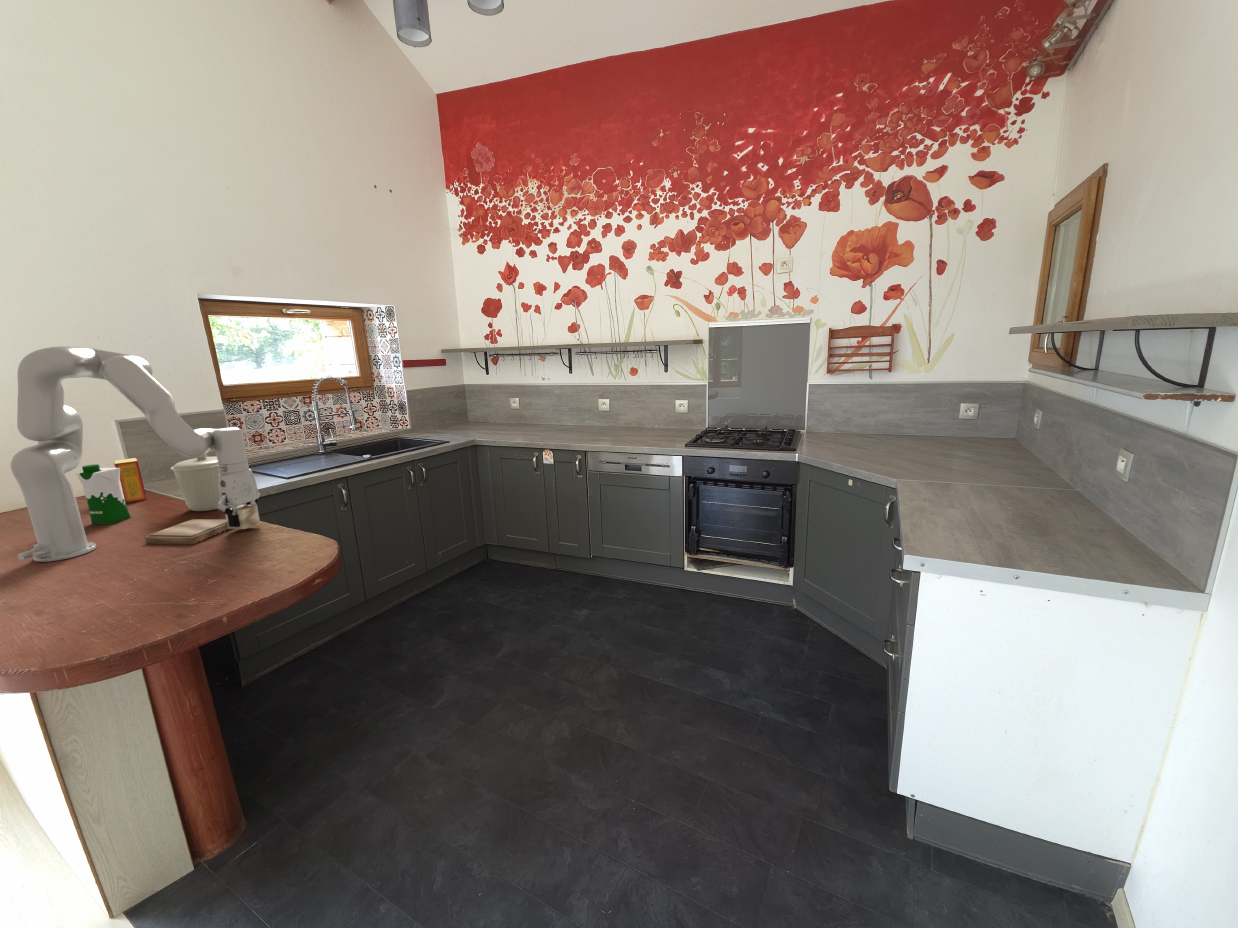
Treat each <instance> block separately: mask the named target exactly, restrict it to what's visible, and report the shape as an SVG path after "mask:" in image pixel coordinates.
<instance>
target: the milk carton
mask: <svg viewBox="0 0 1238 928" xmlns="http://www.w3.org/2000/svg"><path fill="white" fill-rule="evenodd" d="M81 468H82V471H80V472H76V476H77V478H78V479H79V482H80V483H81V485H82V487H83V491H84V495H85V500H86V503H87V506H88V511H89V516H90V522H91V525H113V524H115V523H118V522H122V521H124V520H128V519H131V518H132V516H131V514H130V512H129V509H128V505H127V503H126V502H125V498H124V494H123V490H122V486H121V482H120V468H115V467H100V465H99V464H96V463H95V464H88V465H83V466H82V467H81Z"/></svg>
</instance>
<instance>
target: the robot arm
mask: <svg viewBox="0 0 1238 928" xmlns="http://www.w3.org/2000/svg"><path fill="white" fill-rule="evenodd" d="M79 378H91V379H99V380H105V381H107V382H108V383H109V384H110V385H111V386H113V387H114V389H116V390H117V391H118V392H119V393H120V394H121V395H123V396H124V397H125V398H126V399H127V400H128V401H129V402H130V403H132V404H133V405H134V406H135V407H136V408H137V410H139V411H140V412H141V413H142V414H143V415H144V417H145V419H146V420H147V422H148V423H149V425H150V427H151V428H152V429H153V430H154V432H155V433H156V435H158V437H159V438H161V440H163V441H164V442H165V443H166V444H168V446H170V448H172V449H173V450H174V451H176V452H177V453H178V454H179V455H181V456H184V457H185V458H186V457H187V458H191V459H195V458H196V457H199V456H201V455H203V454H205V453H207V454H208V453H209V452H212V451H215V456H217V462H218V467H219V468H218V469H217V470H218V472H219V473H220V475H219V494H220V502H219V504H218V505H217V508H218V509H217V510H219V511H221V512H222V513H224V516H225V515H227V516H228V521H229V526H230V527H239V526H240V523H239V517H238V514H236V511H237V506H239V505H257V506H258V504H257V503H258V502H259V499H260V496H261V492H260V491H259V490H258V485H257V481H256V478H255V475H254V473H253V470H252V469H251V468H250V466H249V460H248V455H247V449H246V443H245V442H246V441H245V437H244V432H243V430H242V429H241V428H239V427H223V428H207V427H206V428H205V427H202V428H200V427H199V428H195V429H194V428H192V427H191V426H190V425H189V424H188V423H187V422H186V421H185V420H184V419H183V418H182V416H181V415H180V413H178V410H177V409H176V404H175V398H174V396H173V394H171V393H170V392H169V391H168V390H167V389H166V388H165V387H164V386H163V385H162V384H161V383H159V381H157V380H156V379H155V378H154V377H153V367H152V366H151V364H150V363H149V362H148V361H147V360H145V359H144V358H142V357H140V356H137V355H132V354H128V353H127V354H126V353H120V352H114V351H107V350H103V349H96V348H91V347H84V346H83V347H82V346H50V347H45V348H40V349H37V350H34V351H32V352H29V353H28V354H27V355H26V356H24V357H23V358H22V359H21V360H20V362H19V364H18V368H17V409H16V411H17V414H16V416H17V417H16V418H17V419H16V426H17V429H18V432H19V434H20V435H21V436H22V437H23V438H25V439H27V440H30V441H33V442H34V441H35V442H37V444H35V445H31V446H28V447H25V448H23V449H21V450H19V451H17V453H15V454H14V455H13V457H12V458H11V461H10V471H11V473H12V475H13V477H14V478H15V480H16V482H17V483H18V485H19V488H20V491H21V492H22V495H23V498H24V501H25V502H24V503H25V505H26V507H27V511H28V515H29V518H30V520H31V521H30V522H31V525H32V528H33V531H34V535H35V538H36V539H35V540H36V542H37V543H35V544H33V547H32V548H31V549H30V550H26V551H24V552H21V553H20V552H19V553H18V554H17V558H18V560H20V561H24V560H27V559H30V558H33V561H35V562H40V563H47V562H56V561H61V560H66V559H70V558H75V557H79V556H81V555H85V554H87V553H90V552H92V551H94V550H95V549H96V548H97V544H96V542H93V541H92V542H91V541H88V539H87V536H86V535H87V534H86V532H85V528H84V524H83V520H82V517H81V513H80V509H79V506H78V501H77V498H76V496H75V492H74V489H73V486H72V484H71V483H70V481H69V479H68V478H67V476H66V473H69V472H71V471H73V470H74V469H76V468H78V466H79V465H80V463H81V461H82V457H83V439H84V438H83V436H84V434H83V433H84V431H83V430H84V429H83V428H84V427H83V420H82V417H81V415H80V413H79V412H78V411H77V410H76V409H74V408H73V407H72V406H69V405H67V404H65V403H64V401H65V400H64V399H65V392H64V388H63V385H62V381H63V380H67V379H79ZM230 508H232V510H231V509H230Z"/></svg>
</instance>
